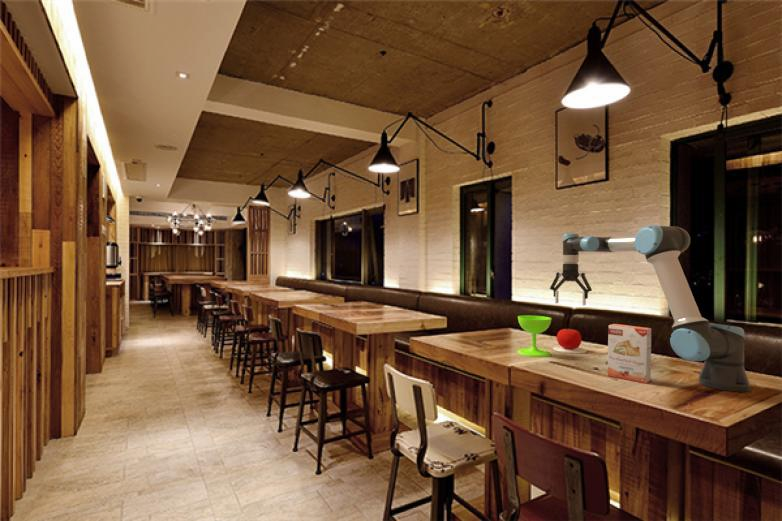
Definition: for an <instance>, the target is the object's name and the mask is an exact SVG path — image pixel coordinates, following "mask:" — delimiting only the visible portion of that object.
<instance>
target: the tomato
mask: <svg viewBox="0 0 782 521" xmlns="http://www.w3.org/2000/svg"><path fill="white" fill-rule="evenodd" d="M556 341H557V344H558V346H562V347H563V348H568V349H576V348H578V347H580V346H581V344H582V335H581V333H580V332H579V331H578V330H577V329H571V328H570V327H568V328H562V329H560V330H559V331H558V332H557V334H556Z"/></svg>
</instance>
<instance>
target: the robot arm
mask: <svg viewBox="0 0 782 521" xmlns="http://www.w3.org/2000/svg"><path fill="white" fill-rule="evenodd" d="M690 244H691V236H690V235H689V233H688V231H687V230H685V229H684V228H682V227H679V226H675V225H674V226H671V225H670V226H668V225H657V224H653V225H645V226H643V227H641V229H639V230H638V231H637V233H636V234H632V235H631V234H630V235H618V236H617V235H616V236H593V235H585V236H580V234H579V233H573V232H571V233H564V234H563V236H562V272H555V277H554V279H553V281H552V283H551V285H550V286H549V289H550V290H552V292H553V297H554V299H555V300H554V303H555V304H559V297H560V296H559V289H560V288H561V286H562V285H563V284H564V283H565V282H574V283H577V285H578V286H579V287H580V288H581V289H582V291H583V292H582V306H586V305H587V303H586V302H587V300H588V298H589V292H592V291H593V290H592V289H593V288H592V287H591V285H590V283H589V281H588V279H587V277H586V273H585V272H582V273H581V272H580V271H579V255H580V254H579V253H582V252H585V253H586V252H588V253H591V252H593V253H595V252H597V253H614V252H615V253H616V252H618V253H619V252H638V253H639V254H641V255H644V257H645V259H646V262H647V263H648V264H650V265H652V266H653V269H654V271H655V274H656V276H657V279H658V282H659V284H660V287H661V289H662V292H663V294H664V298H665V300H666V303H667V305H668V308H669V310H670V313H671V316H672V318H673V324H672V325H671V328H672V331H673V332H672V333H671V335H670V336H671V337H670V338H669V342H670V346H671V349H672V350H673V352H674V353H675V354H676V355H677V356H679V358H681V359H683V360H686V361H690V362H692V361H693V362H702V361H704V362H703V365H702V367H701V369H700V372H699V375H698V383H699V384H701V385H703V386H706V387H708V388H713V389H717V390H721V391H728V392H737V393H742V392H744V393H745V392H749V391H750V390H751V382H750V380H749V378H748V375H747V372H746V369H745V347H746V346H745V343H746V342H745V340H746V336H745V330H744V329H743V328H742V327H740V326H733V325H728V324H727V325H726V324H721V323H720V324H719V323H713V322H710V321H709V320H708V319H706V318H704V317H702V314H701V313H700V310H699V307H698V305H697V303H696V301H695V298H694V296H693V293H692V290H691V288H690V284H689V283H688V280H687V278H686V276H685V274H684V271H683V268H682V266H681V263H680V261H679V256H680V255H681V254H682V253H683V252H685V251H686V250H688V248H689V247H690ZM579 272H580V273H579ZM561 276H562V279H561V280H560V281H559V279H560V277H561ZM579 277H580V278H581V279H582V282H583V283H584V284H583V283H582V282H581V280H580V279H579ZM558 281H559V283H558ZM586 299H587V300H586Z"/></svg>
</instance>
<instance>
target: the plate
mask: <svg viewBox="0 0 782 521" xmlns="http://www.w3.org/2000/svg"><path fill="white" fill-rule="evenodd" d="M552 350H553V351H555V352H558V353H563V354H572V355H581V354H586V353H587V349H586V348H583V347H580V346H579V347H578V348H576V349H568V348H563V347H562V346H560V345H555V346H552Z"/></svg>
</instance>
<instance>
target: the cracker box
mask: <svg viewBox="0 0 782 521" xmlns="http://www.w3.org/2000/svg"><path fill="white" fill-rule="evenodd" d="M607 337H608V338H607V339H608V340H607V361H608V365H607V376H608V377H612V378H613V377H614V378H617V379H623V380H627V381H631V382H637V383H641V384H645V385H646V384H647V383H649V382H650V381H651V378H652V377H651V375H652V372H651V370H652V367H651V366H652V365H651V364H652V327H651V328H650V327H642V326H634V325H627V324H619V323H612V324H609V325H608V336H607Z"/></svg>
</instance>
